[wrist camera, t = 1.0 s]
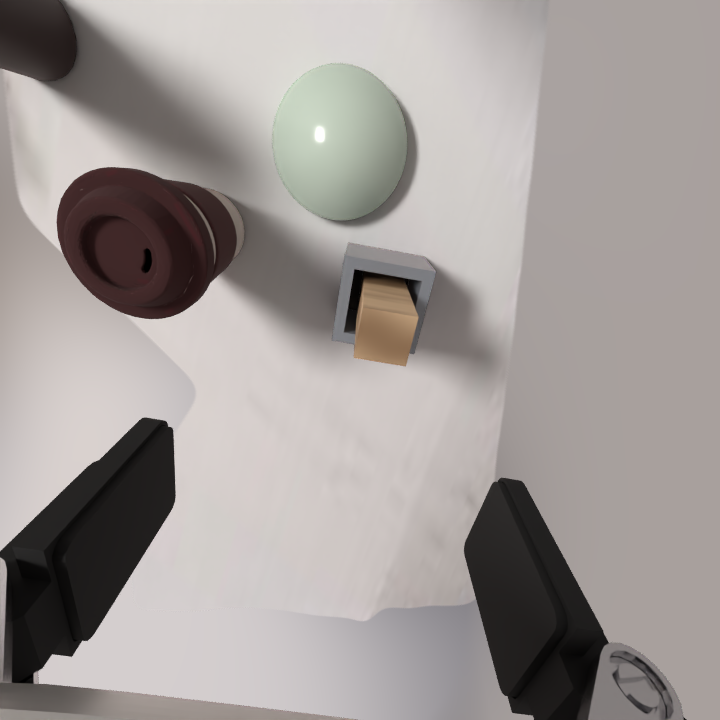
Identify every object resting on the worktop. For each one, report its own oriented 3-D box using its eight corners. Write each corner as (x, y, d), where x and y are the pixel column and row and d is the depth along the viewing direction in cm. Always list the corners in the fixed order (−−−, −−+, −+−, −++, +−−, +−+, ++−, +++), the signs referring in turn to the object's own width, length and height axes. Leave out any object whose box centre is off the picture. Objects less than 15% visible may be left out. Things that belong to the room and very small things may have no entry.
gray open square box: (348, 242, 37) (344, 255, 30) (424, 256, 37) (436, 271, 31) (337, 315, 40) (331, 340, 34) (406, 327, 41) (414, 354, 34)
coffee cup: (139, 213, 36) (2, 232, 22) (210, 148, 33) (103, 126, 20) (210, 293, 39) (129, 352, 26) (279, 241, 37) (229, 275, 23)
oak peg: (364, 265, 38) (362, 307, 25) (401, 272, 38) (418, 317, 25) (357, 301, 39) (353, 357, 27) (393, 307, 40) (405, 366, 27)
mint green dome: (280, 53, 30) (277, 48, 29) (420, 83, 31) (422, 79, 30) (271, 207, 35) (268, 207, 34) (390, 229, 36) (391, 230, 35)
